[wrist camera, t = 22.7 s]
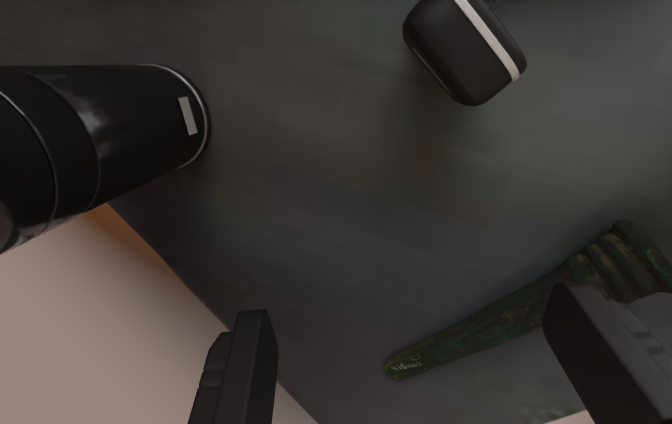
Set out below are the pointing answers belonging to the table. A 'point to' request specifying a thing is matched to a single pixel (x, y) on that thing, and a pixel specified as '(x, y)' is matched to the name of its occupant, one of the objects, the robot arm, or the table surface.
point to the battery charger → (464, 48)
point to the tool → (547, 299)
